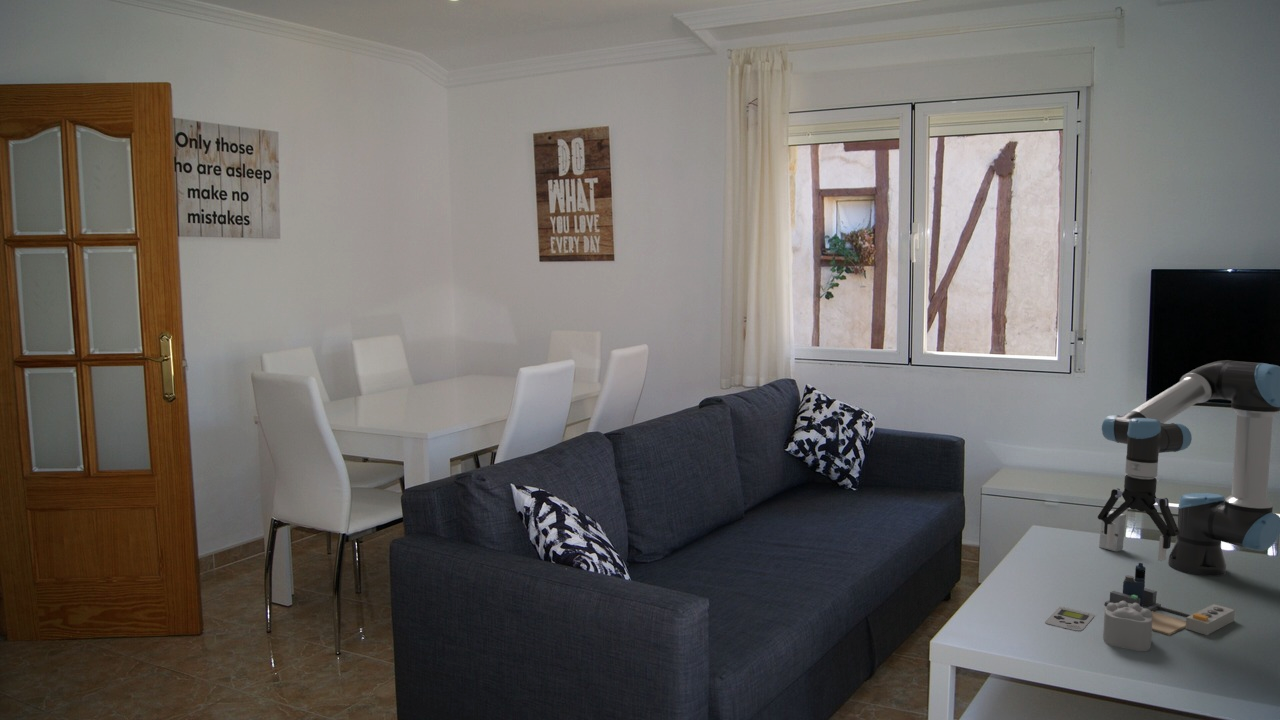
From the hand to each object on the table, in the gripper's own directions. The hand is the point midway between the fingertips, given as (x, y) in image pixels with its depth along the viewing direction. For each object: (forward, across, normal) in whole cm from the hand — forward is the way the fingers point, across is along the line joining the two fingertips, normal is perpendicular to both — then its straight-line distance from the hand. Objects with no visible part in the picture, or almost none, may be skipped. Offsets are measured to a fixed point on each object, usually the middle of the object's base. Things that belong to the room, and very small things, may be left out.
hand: (1135, 553), depth 243 cm
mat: (+15, +9, -7) cm, 19 cm away
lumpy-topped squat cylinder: (+15, +10, -24) cm, 30 cm away
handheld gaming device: (+16, -5, -23) cm, 28 cm away
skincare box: (+15, -29, +47) cm, 57 cm away
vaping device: (+15, 0, 0) cm, 15 cm away
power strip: (+15, +18, +3) cm, 24 cm away
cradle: (+15, +6, 0) cm, 16 cm away
